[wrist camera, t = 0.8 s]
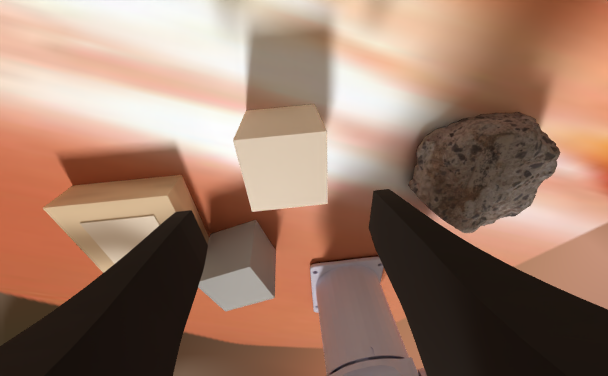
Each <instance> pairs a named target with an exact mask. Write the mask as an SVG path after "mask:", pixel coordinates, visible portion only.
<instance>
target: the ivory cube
mask: <svg viewBox="0 0 608 376" xmlns="http://www.w3.org/2000/svg"><path fill="white" fill-rule="evenodd" d="M233 142H234V145H235V149H236V153H237V157H238V161H239V164H240V168H241V172H242V176H243V180H244V183H245V187H246V191H247V195H248V199H249V202H250V206H251V210H252V212H256V211H265V210H274V209H284V208H293V207H303V206H312V205H321V204H328V189H327V131H326V128H325V126H324V124H323V122H322V120H321V117H320V115H319V113H318V111H317V108H316V106H315V104H310V105H299V106H289V107H278V108H267V109H257V110H246V112H245V114H244V117H243V119H242V121H241V123H240V126H239V128H238V130H237V133H236V135H235V137H234V140H233Z"/></svg>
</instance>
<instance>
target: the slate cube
mask: <svg viewBox="0 0 608 376" xmlns="http://www.w3.org/2000/svg"><path fill="white" fill-rule="evenodd" d="M275 264H276V250H275V248H274V247H273V245H272V244H271V242H270V241H269V239H268V238H267V236H266V234H265V233H264V231H263V230H262V228H261V227H260V225H259V224H258V222H257V220H253V221H250V222H247V223H244V224H241V225H238V226H234V227H231V228H228V229H225V230H222V231H219V232H216V233H213V234H211V235H210V238H209V241H208V249H207V255H206V260H205V265H204V270H203V273H202V276H201V279H200V283H199V286H198V287H199V288H200V289H201V290H202V291H203V292H204V293H205V294H207V295H208V296H209V297H210V298H211V299H212V300H213V301H214V302H216V303H217V304H218V305H219V306H220V307H221V308H222V309H223V310H224V311H229V310H232V309H236V308H240V307H243V306H247V305H251V304H254V303H258V302H261V301H265V300H269V299H272V298H275Z"/></svg>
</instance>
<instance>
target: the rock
mask: <svg viewBox="0 0 608 376" xmlns="http://www.w3.org/2000/svg"><path fill="white" fill-rule="evenodd" d="M559 155H560V151H559V148H558V147H556V143H555V142H554V141H551V140H550V139H549V137H548V135H547V134H546V133H544V132H542V130H541V129H540V127H539V124H537V123H536V119H534V118H533V117H531V116H527V115H524V114H522V113H520V112H517V113H513V114H506V113H495V114H484V115H480V116H476V117H475V118H466V119H462V120H460V121H459V122H458V123H452V124H450V125H449V126H448V127H444V128H439V129H436V130H434V131H433V132H432V133H431V134H429V135H427V136H425V137H424V139H423V141H422V143H421V144H420V145H419V146H418V148H417V152H416V156H417V165H416V166H415V168H414V177H413V179H412V180H410V181H409V187H410V188H411V189H412V190H413V191H414V192H415V193H416V195H417V196H418V197H419V198H420V200H422V201H423V202H424V203H425V204H426V206H427V207H428V208H429V209H430V210H432V211H433V212H434V213H435V214H436V215H438V216H439V217H440V218H441V219H443V220H444V221H446V222H447V223H449V224H450V225H452V226H454V227H455V228H456V229H459V230H460V231H461V232H463V233H472V232H474V231H476V230H477V229H478V228H479V227H480V226H485V225H487V224H492V223H494V222H495V221H496V220H497V219H500V218H503V217H507V216H516V215H517V214H519V213H520V212H521V211H523V210H524V209H526V208H527V207H529V206H530V205H531V204H532V202H533V200H534V198H535V196H536V195H535V194H536V192H537V189H538V187H539V186H540V184H541V183H542V182H543V180H545V179H547V178H549V177H551V176H552V174H553V173H554V172H555V169H556V167H557V161H556V160H557V159H558V157H559Z"/></svg>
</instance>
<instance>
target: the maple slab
mask: <svg viewBox="0 0 608 376" xmlns="http://www.w3.org/2000/svg"><path fill="white" fill-rule="evenodd" d="M43 209H44V210H45V211H46V212H47V213H48V214H49V215H50V216H51V218H52V219H53V220H54V221H55V222H56V223H57V224H58V225H59V226H60V227H61V228H62V229H63V230H64V231H65V232H66V233H67V235H68V236H69V237H70V238H71V239H72V240H73V241H74V242H75V243H76V244H77V245H78V246H79V247H80V248H81V249H82V250H83V252H84V253H85V254H86V255H87V256H88V257H89V258H90V259H91V260H92V261H93V262H94V263H95V264H96V265H97V266H98V267H99V268H100V270H101V271H102V272H103V273H104V272H105V271H107V270H108V269H109V268H110V267H111V266H113V265H114V264H115V263H116V262H118V261H119V260H120V259H121V258H122V257H124V256H125V255H126V254H127V253H128V252H130V251H131V250H132V249H133V248H134V247H135V246H136V245H138V244H139V243H140V242H141V241H142V240H143V239H145V238H146V237H147V236H148V235H149V234H150V233H151V232H152V231H154V230H155V229H156V228H157V227H158V226H159V225H160V224H162V223H163V222H164V221H165V220H166V219H167V218H169V217H170V216H171V215H172V214H174V213H175V212H179V211H188V210H192V212H193V214H194V216H195V218H196V221H197V223H198V225H199V227H200V229H201V231H202V234H203V236H204V238H205V240H206V242H207V244H208V241H209V236H208V234H207V231H206V229H205V227H204V225H203V222H202V220H201V218H200V215H199V213H198V211H197V209H196V206H195V204H194V202H193V199H192V197H191V195H190V193H189V190H188V188H187V186H186V183H185V181H184V179H183V177H182V175H174V176H163V177H153V178H143V179H133V180H123V181H113V182H103V183H93V184H83V185H73V186H71V187H70V188H69V189H67V190H66V191H65V192H63V193H62V194H61V195H59V196H58V197H57V198H55V199H54V200H53V201H51V202H50V203H49V204H47V205H46V206H45V207H43Z"/></svg>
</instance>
